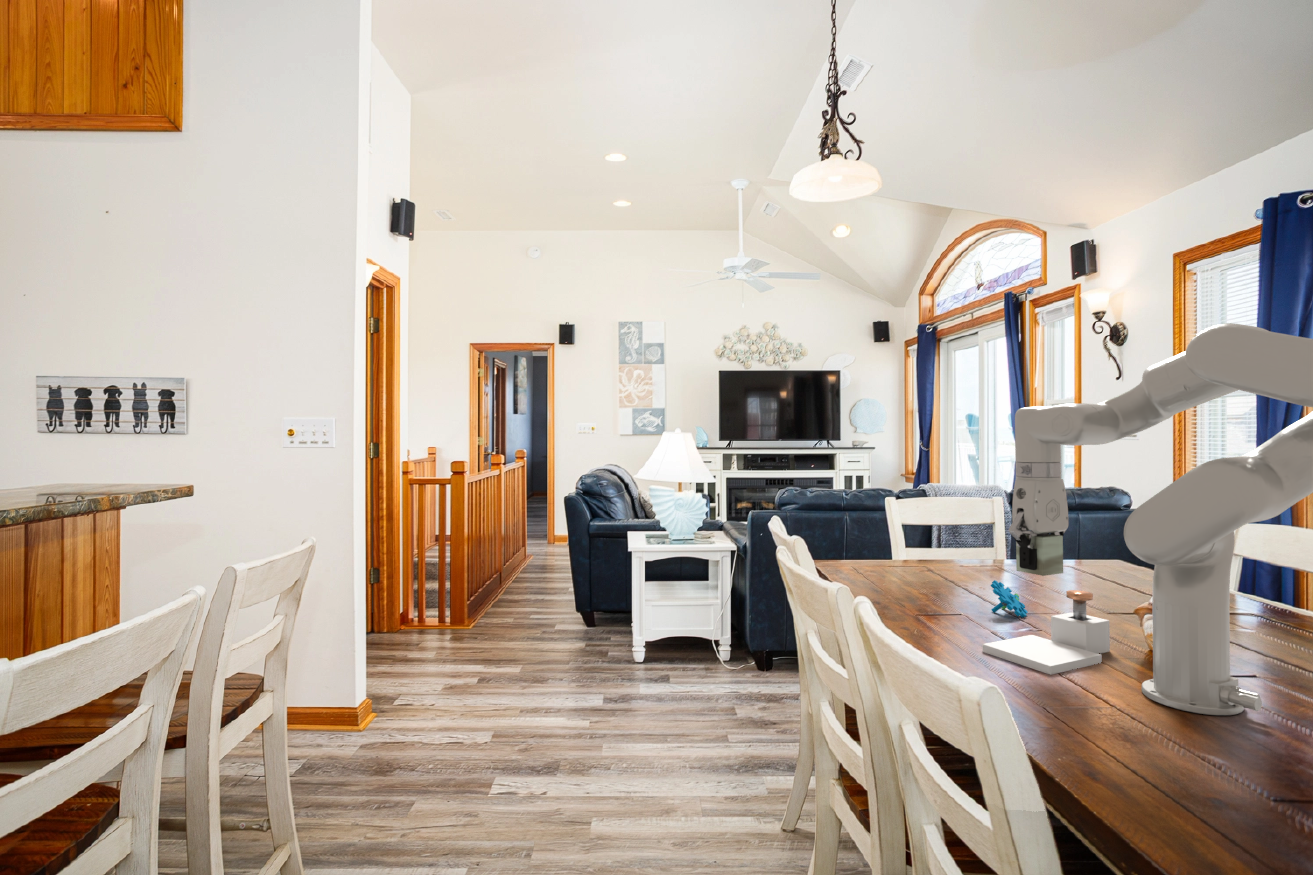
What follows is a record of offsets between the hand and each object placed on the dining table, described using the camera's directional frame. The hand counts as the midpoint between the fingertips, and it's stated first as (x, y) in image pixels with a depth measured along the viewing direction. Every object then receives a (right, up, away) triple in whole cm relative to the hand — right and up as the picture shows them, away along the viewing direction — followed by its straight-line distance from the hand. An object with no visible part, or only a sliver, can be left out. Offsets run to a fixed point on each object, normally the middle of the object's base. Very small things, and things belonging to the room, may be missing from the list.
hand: (1039, 566), depth 126 cm
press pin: (+11, -12, +5) cm, 17 cm away
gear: (+10, -17, +31) cm, 37 cm away
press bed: (+4, -17, +2) cm, 18 cm away
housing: (0, -1, 0) cm, 1 cm away
